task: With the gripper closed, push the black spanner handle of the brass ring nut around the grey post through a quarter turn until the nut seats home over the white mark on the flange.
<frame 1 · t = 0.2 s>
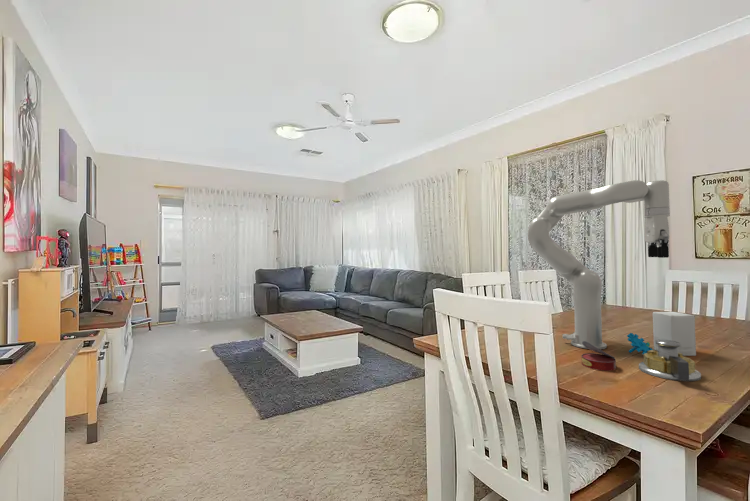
hand: (658, 257, 130), 36 cm above the table, tool pointing down, fingers open, 9 cm apart
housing: (668, 372, 108), on the table
ring nut: (671, 362, 105), point 4 cm above the table, hinge at 0.0°
canned food: (598, 366, 116), on the table
supplement box: (674, 353, 128), on the table
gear: (641, 355, 127), on the table
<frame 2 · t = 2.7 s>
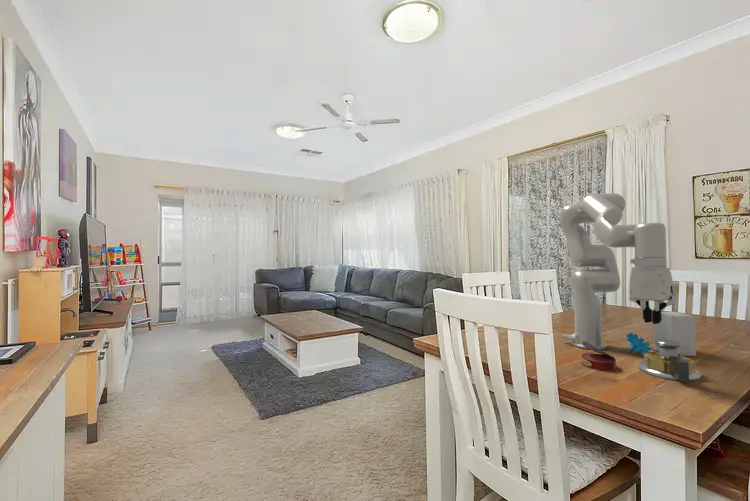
hand: (652, 322, 104), 17 cm above the table, tool pointing down, fingers closed
nothing on the table moved.
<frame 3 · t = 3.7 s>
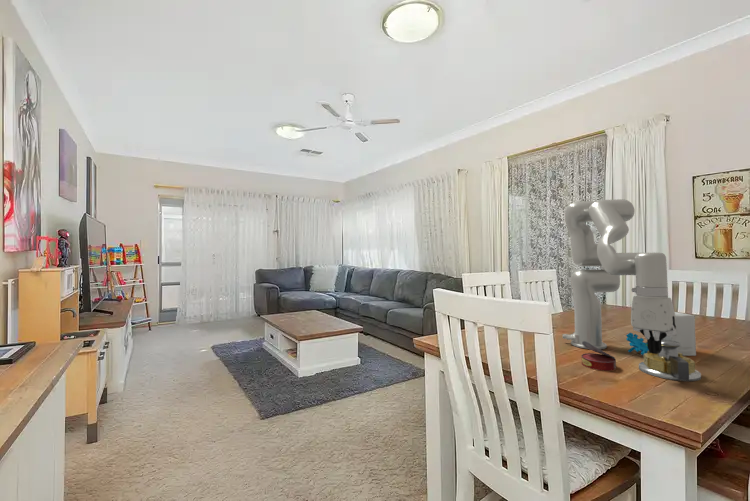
hand: (654, 352, 103), 8 cm above the table, tool pointing down, fingers closed
nothing on the table moved.
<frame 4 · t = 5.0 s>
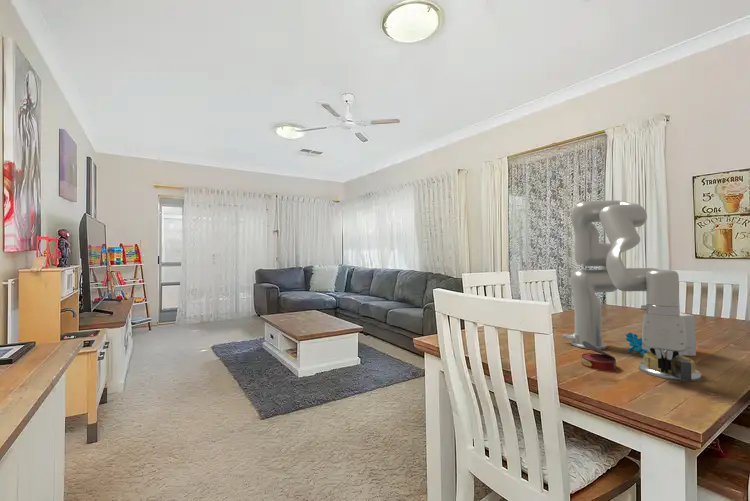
hand: (664, 371, 102), 3 cm above the table, tool pointing down, fingers closed
ring nut: (672, 362, 105), point 4 cm above the table, hinge at 2.8°, touching gripper
everything else where it was.
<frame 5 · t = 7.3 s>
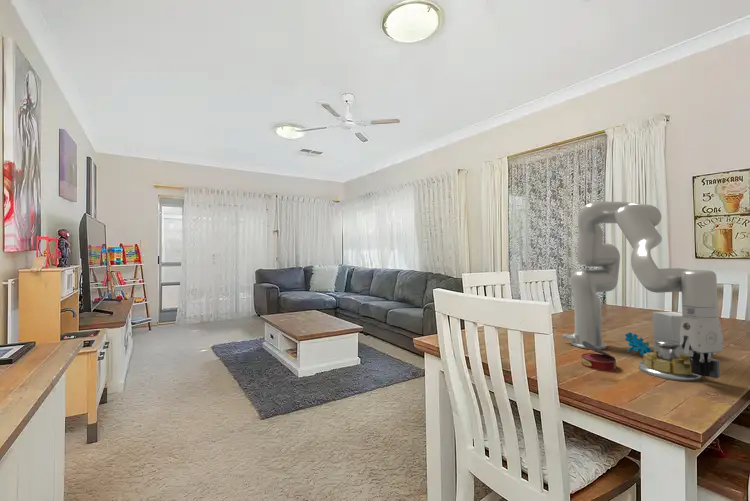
hand: (701, 374, 99), 3 cm above the table, tool pointing down, fingers closed
ring nut: (679, 361, 106), point 4 cm above the table, hinge at 57.7°, touching gripper
everything else where it was.
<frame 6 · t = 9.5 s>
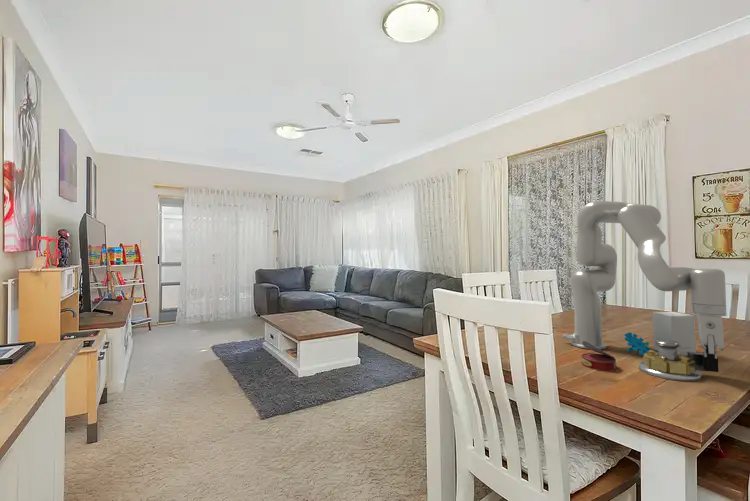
hand: (710, 370, 101), 3 cm above the table, tool pointing down, fingers closed
ring nut: (678, 360, 107), point 4 cm above the table, hinge at 95.0°, touching gripper
everything else where it was.
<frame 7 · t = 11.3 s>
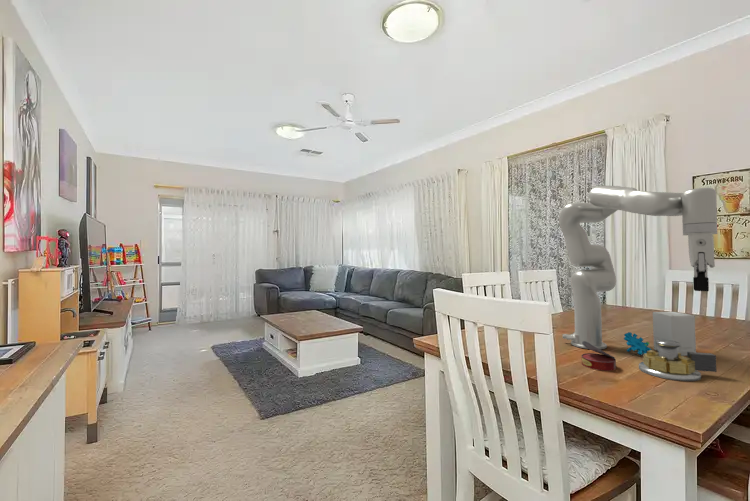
hand: (701, 290, 101), 27 cm above the table, tool pointing down, fingers closed
ring nut: (678, 360, 107), point 4 cm above the table, hinge at 95.1°
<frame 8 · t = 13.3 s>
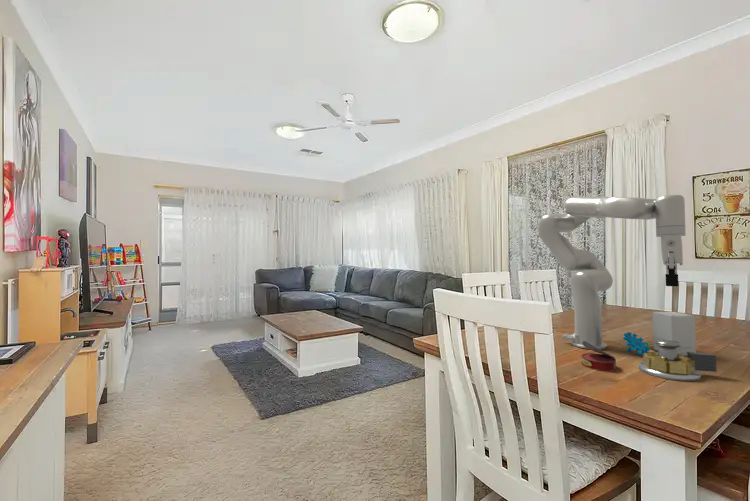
hand: (672, 285, 114), 27 cm above the table, tool pointing down, fingers closed
at the end: ring nut at +95° (first picture: +0°) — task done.
